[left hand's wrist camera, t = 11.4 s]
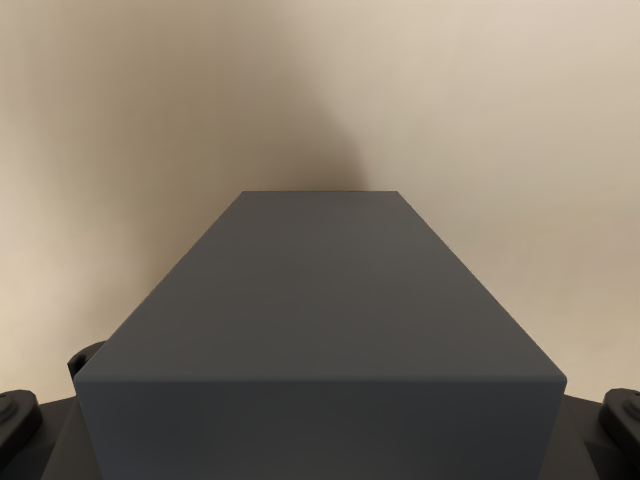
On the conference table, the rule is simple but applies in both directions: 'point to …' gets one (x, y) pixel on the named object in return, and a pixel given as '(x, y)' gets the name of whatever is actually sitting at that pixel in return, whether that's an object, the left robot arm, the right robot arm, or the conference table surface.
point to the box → (320, 356)
